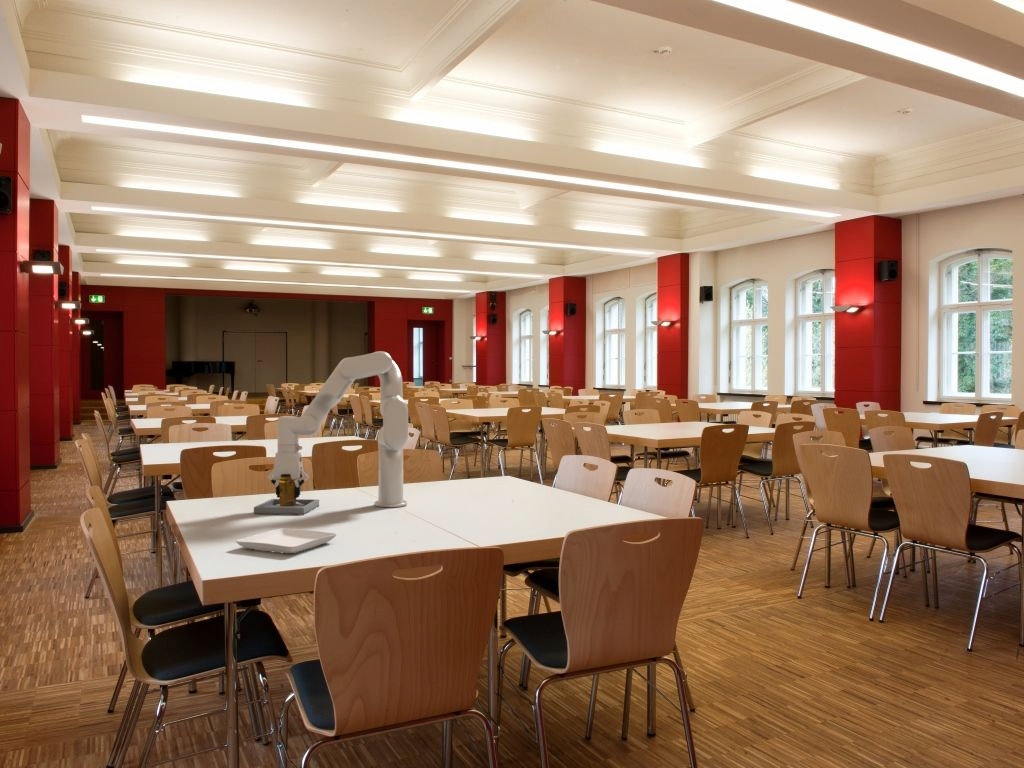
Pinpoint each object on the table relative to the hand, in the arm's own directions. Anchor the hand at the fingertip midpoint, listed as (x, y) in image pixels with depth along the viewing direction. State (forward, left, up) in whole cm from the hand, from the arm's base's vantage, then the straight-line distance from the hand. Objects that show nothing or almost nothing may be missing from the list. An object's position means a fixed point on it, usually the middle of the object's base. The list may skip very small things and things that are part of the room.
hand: (288, 496), depth 287 cm
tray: (0, 0, -5) cm, 5 cm away
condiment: (0, +1, -3) cm, 3 cm away
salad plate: (+58, +20, -5) cm, 62 cm away
